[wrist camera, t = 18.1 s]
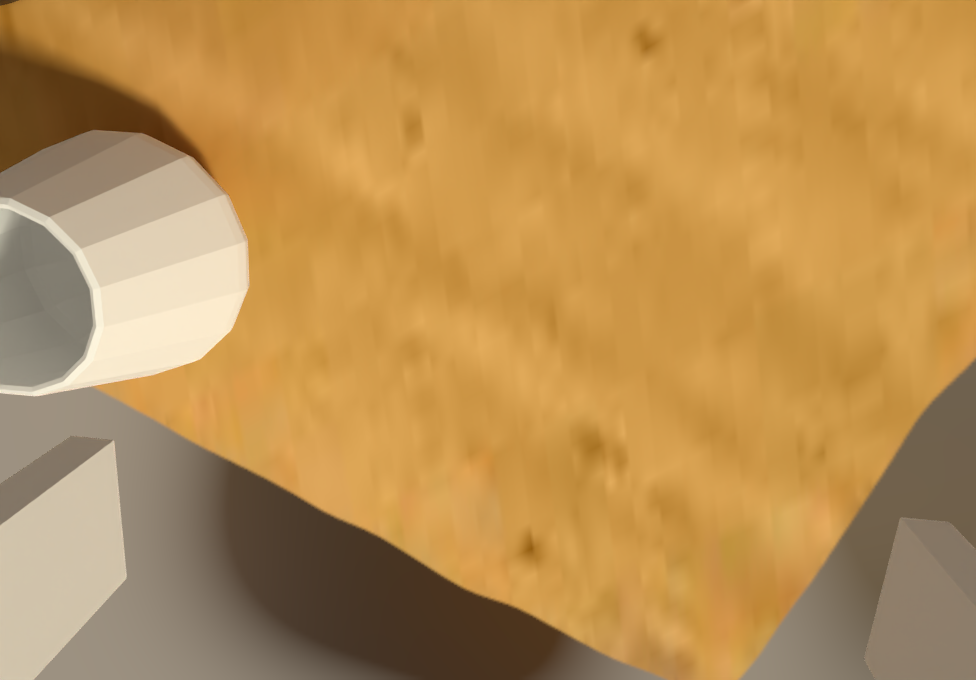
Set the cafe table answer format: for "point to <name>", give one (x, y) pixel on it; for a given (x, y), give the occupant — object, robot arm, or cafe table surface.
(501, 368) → the cafe table surface
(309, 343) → the cafe table surface
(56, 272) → the cup
